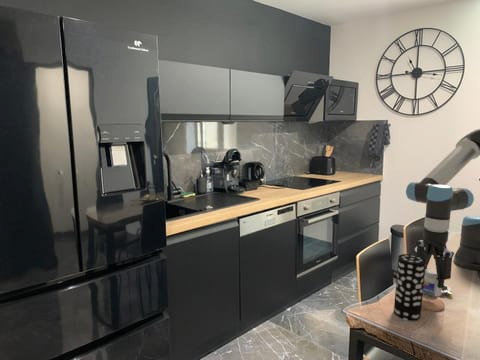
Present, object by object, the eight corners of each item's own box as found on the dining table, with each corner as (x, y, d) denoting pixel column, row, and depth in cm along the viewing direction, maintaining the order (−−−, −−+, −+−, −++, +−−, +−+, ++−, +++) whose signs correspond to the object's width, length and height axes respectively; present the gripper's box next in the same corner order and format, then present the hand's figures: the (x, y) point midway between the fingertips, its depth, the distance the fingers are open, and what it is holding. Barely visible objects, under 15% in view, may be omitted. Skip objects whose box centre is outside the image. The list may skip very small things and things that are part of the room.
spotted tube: (419, 323, 113) (425, 265, 110) (391, 316, 118) (396, 260, 114) (421, 312, 120) (427, 257, 117) (395, 305, 125) (400, 252, 121)
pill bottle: (419, 297, 125) (421, 272, 124) (422, 292, 129) (424, 267, 128) (436, 302, 122) (439, 276, 120) (438, 296, 126) (441, 271, 125)
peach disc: (427, 295, 132) (427, 292, 132) (451, 308, 123) (451, 305, 123) (406, 299, 129) (407, 297, 129) (429, 313, 120) (429, 310, 120)
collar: (432, 281, 144) (432, 278, 144) (459, 295, 132) (460, 291, 132) (415, 285, 141) (415, 281, 140) (441, 299, 129) (442, 295, 129)
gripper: (468, 236, 114) (461, 301, 118) (422, 221, 131) (417, 279, 135) (452, 238, 112) (444, 305, 115) (407, 223, 129) (402, 282, 133)
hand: (429, 291), depth 125 cm, fingers closed on pill bottle, 5 cm apart
